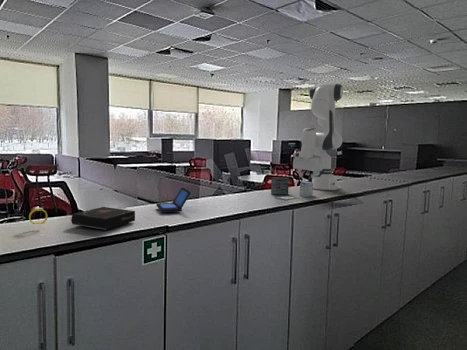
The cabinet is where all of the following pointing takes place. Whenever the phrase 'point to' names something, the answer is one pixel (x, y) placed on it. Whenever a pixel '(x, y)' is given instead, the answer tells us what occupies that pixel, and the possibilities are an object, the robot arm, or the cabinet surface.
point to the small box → (279, 186)
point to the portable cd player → (103, 217)
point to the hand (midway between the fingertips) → (306, 177)
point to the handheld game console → (175, 202)
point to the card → (286, 197)
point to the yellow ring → (37, 210)
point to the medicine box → (306, 189)
